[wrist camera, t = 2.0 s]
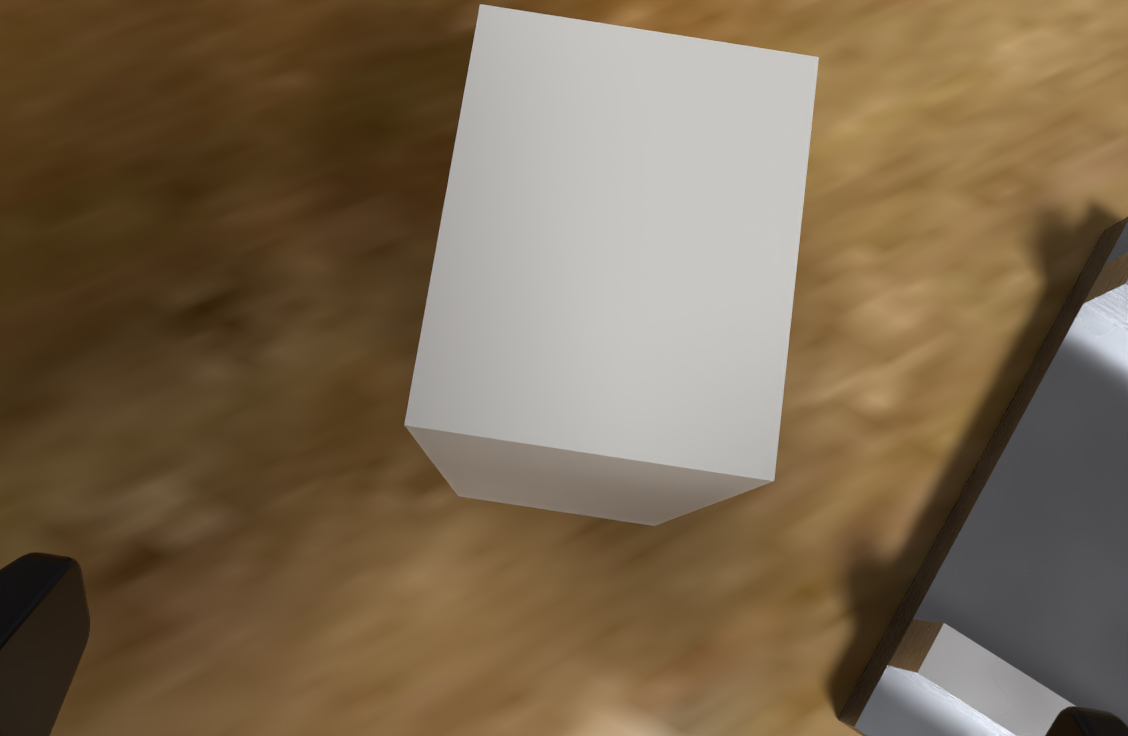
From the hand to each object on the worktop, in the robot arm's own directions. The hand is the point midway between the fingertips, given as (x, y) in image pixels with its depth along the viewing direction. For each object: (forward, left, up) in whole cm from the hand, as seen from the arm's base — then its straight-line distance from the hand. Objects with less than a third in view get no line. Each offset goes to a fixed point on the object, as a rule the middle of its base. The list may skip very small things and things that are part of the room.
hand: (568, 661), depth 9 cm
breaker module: (+4, -3, -11) cm, 12 cm away
